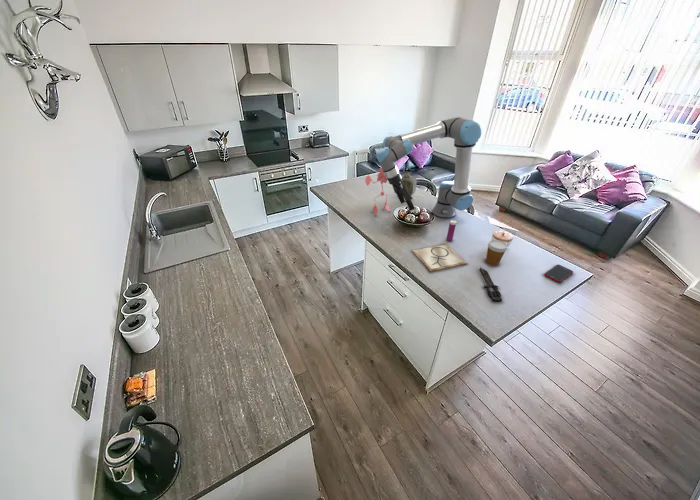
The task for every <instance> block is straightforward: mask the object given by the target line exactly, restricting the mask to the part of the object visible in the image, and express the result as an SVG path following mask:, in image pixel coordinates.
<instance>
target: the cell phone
mask: <svg viewBox="0 0 700 500" xmlns="http://www.w3.org/2000/svg"><path fill="white" fill-rule="evenodd" d="M573 273H574V271H573V270H571V269H570V268H568V267H565V266H563V265H561V264H556V265H554V266H553V267H551V268H550V269H549V270H547V271H545V272H544V274H543V275H544V276H545V277H547V278H549V279H550V280H552V281H554V282H556V283H562V282H563V281H564V280H565V279H567V278H568V277H570V276H571V275H572V274H573Z"/></svg>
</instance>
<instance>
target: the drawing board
mask: <svg viewBox="0 0 700 500" xmlns="http://www.w3.org/2000/svg"><path fill="white" fill-rule="evenodd" d="M412 253H413V254H414V255H415V256H416V258H417V259H418V260H419V261H420V262H421V263H422V265H424V266H425V267H426V269H427V270H428V271H429V272H430V273H432V272H437V271H442V270H446V269H451V268H455V267H460V266H464V265H465V266H466V265H467V264H468V263H467V261H465V260H464V259H463V258H462V257H461V256H460V255H459V254H457V252H455V251H454V250H453V249H452V248H451V247H450V246H449V245H448V244H447V243H445V244H439V245H434V246H428V247H423V248H418V249H413V250H412Z"/></svg>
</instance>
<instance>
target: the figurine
mask: <svg viewBox="0 0 700 500" xmlns="http://www.w3.org/2000/svg"><path fill="white" fill-rule="evenodd" d="M378 172H379V173H377V175H376V177H377V178H376V181H373V179H372V177H371V176H370V175H369V174H368V175H367V176H366V177H365V178H364V182H365V185H366V186H367V187H369V186H370V185H371V182H372V184H377V183H379V182H380V185H381V190H382V191H381V192H380V194H379V195H377V196H375V197H374V200H376V198H379V197H380V196H382V197H383V196H385V195H386V197H385V203H384V206H383V208H382V210H383V211H384V210H385V209H386V210H387V211H388V212H390V206H389V205H388V201H387V199H388V194H386V193H385V192H384V187H383V184H387V182H388V179H387V177H386V175H384V174H385V173H384V171H383V169H382V167H379V169H378ZM378 212H379V209H378V206H377V205H373V207H372V213H373V215H374V216H375V217H376V216H377V214H378ZM391 218H393V216H392V217H388V218H387V220H388V219H391Z"/></svg>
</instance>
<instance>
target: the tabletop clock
mask: <svg viewBox="0 0 700 500" xmlns="http://www.w3.org/2000/svg"><path fill="white" fill-rule="evenodd" d="M404 169H407V171H405V170H404ZM408 170H410V171H409V172H408ZM402 172H403V174H400V175H401V177H402V179H401V180H400V183H402V184H403V185H404V187H405V189H406V190H407V192H408V194H409V195H410V197H411V200H413V199H414V197H413V195H414V194H415V193H416V190H417V183H418V182H417V181H418V180H417V177H415V176H413V175H410V174H412V173H413V171H412V169H411V168H410V167H407V166H406V167H403V168H402ZM402 196H403V195H402ZM403 198H404V197H403ZM404 199H405V198H404Z"/></svg>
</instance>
